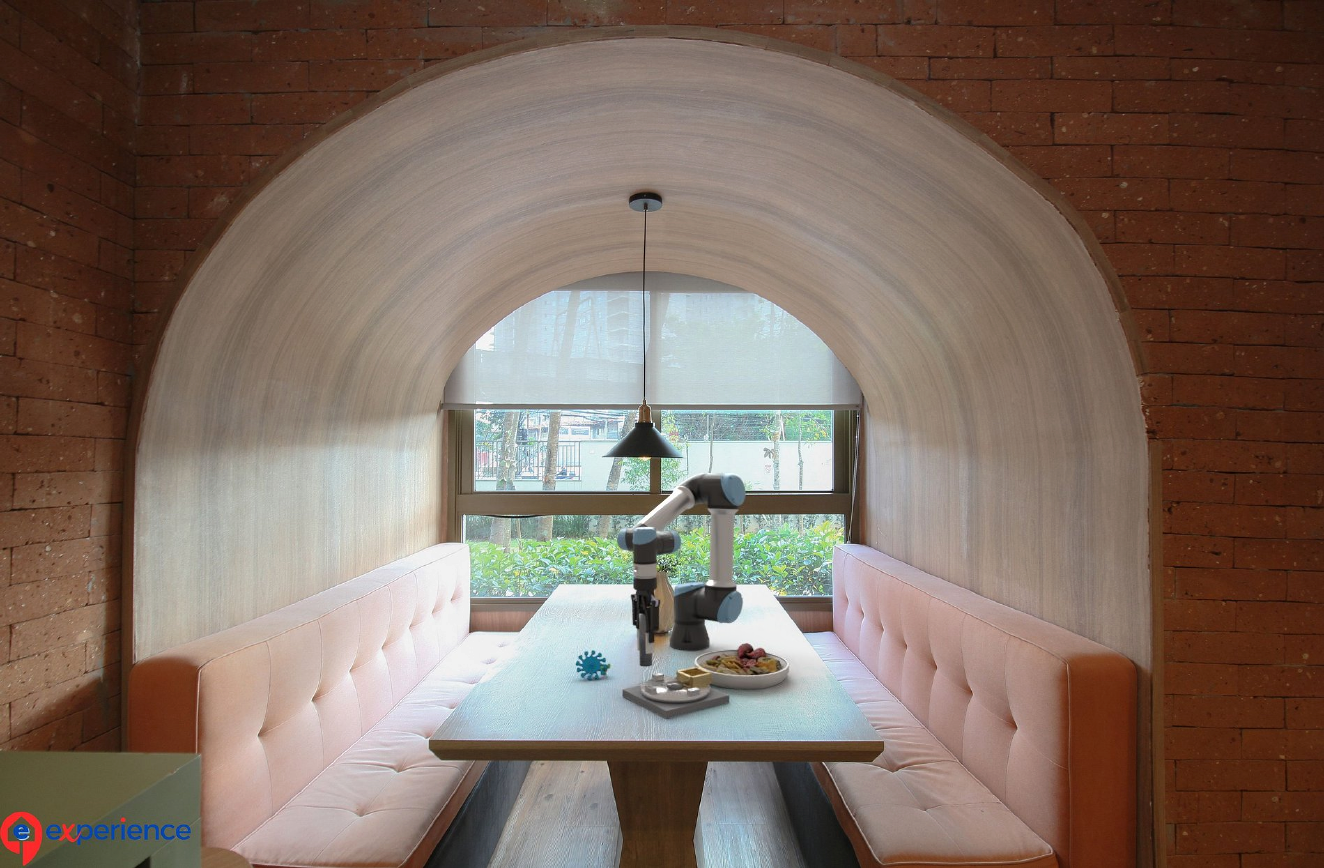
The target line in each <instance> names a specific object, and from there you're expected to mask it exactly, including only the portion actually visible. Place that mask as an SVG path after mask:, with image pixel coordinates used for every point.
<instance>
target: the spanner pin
mask: <svg viewBox="0 0 1324 868" xmlns="http://www.w3.org/2000/svg"><path fill="white" fill-rule="evenodd" d="M645 631H647V625H646V617H645V612H643V613H639V650H638V651H639V666H640V667H644V668H645V667H646V668H647V667H651V666H653V653H649V654H646V632H645Z"/></svg>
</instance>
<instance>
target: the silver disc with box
mask: <svg viewBox="0 0 1324 868" xmlns="http://www.w3.org/2000/svg"><path fill="white" fill-rule="evenodd" d="M651 677H652V679H651V678H650V679H648V680H646V681H643V683H642V684H640V685H641V694H642V695H643V696H644V697H646V698H648V699H650V700H654V701H658V702H665V703H686V702H693V701H698V700H701V699H703V698H705V697H707V696H708V695H709V694H710V685H713V684H712V673H711V672H709V671H707V670H704V669H702V668H699V667H698V668H697V667H695V666H692V667H688V668H684V669H679V670H676V675H675V676H674V675H673V676H671V675H670V676H665V674H664V673H663V672H656V673H653V674H652V675H651Z"/></svg>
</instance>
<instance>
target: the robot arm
mask: <svg viewBox="0 0 1324 868" xmlns="http://www.w3.org/2000/svg"><path fill="white" fill-rule="evenodd" d="M745 499H746V487H745V484H744V482H743V480H742V478H741V476H739V475H738V474H736V473H730V472H729V473H728V472H720V473H719V472H712V473H711V472H709V473H708V472H702V473H701V472H700V473H698V474H695V475H692V476H691V477H689V478H686V479H685V480H684V481H682V482H681V483H680V484H678V485H677V486H675V488H673V491H672V493H671V495H669V496H668V497H667V498H666V499H664V501H662V502H661V503H660V504H658V506H656V507H655V508H654V509H653V510H652V511H650V512H649V513H648V514H647V515H645V516H644V517H643V518H642V519H641V520H640V521H639V522H638V523H637V524H635V525H633V527H631V528H629V527H627V528H622V529H620V531H619V532H618V534H617V536H616V543H617V545H618V547H619V549H621V550H623V551H628V552H633V553H632V557H633V558H632V562H633V563H632V567H633V568H632V571H633V574H632V575H633V576H634V577H633V578H632V579H633V580H632V585H633V588H632V589H634V590H635V593H632V594H630V599H631V610H632V611H631V614H632V620H631V621H632V625H633V626H634V627H635V628H636V638H637V640H636V641H637V651H639V613H643V612H645V617H646V625H647V631H645V632H646V654H649V653H652V654H653V653H655V640H656V639H655V633H656V632H658V631H659V630H660V606H661V599H657V598H656V595H655V590H657V588H658V578H657V576H658V561H657V559H658V557H657V556H662V555H668V554H669V555H671V554H672V553H676V552H677V551H679V549H680V548H681V547H682V546H681V545H682V538H681V535H680V534H679V533H678V532H677V531H676V530H673V529H671V530H668V529H667V530H666V529H665V528H667V527H668V525H670V524H671V523H672V522H673V521H674V520H676V519H677V518H678V517H680V515H681V514H682V513H684V511H686V510H690V509H692V508H693V507H694V506H696V505H703V504H704V505H706V507H707V508H706V510H708V512H709V513H710V533H709V535H710V536H709V537H710V538H709V539H710V542H709V569H708V570H709V571H708V573H709V575H708V576H709V577H708V579H707V581H706V582H702V581H696V582H693V581H692V582H686V583H680V584H677V585H675V587H674V589H673V627H672V630H671V634H670V637H669V647H671V648H673V649H677V650H683V651H699V650H705V649H708V648H709V647H710V645H711V644H710V642H711V641H710V640H711V639H710V637H709V633H708V630H707V627H706V622H705V621H709V622H716V623H719V624H732V623H735V621H736V620H737V619H738V618H739V617H740V614H741V612H742V610H743V604H744V600H743V599H744V598H743V596H742V593H741V592H739V591H738V590H737V584H736V583H735V581H734V579H733V577H734V572H733V571H734V543H735V542H734V541H735V539H734V538H735V537H734V536H735V516H736V513H737V512H739V508H740V506H741V505H743V504H744V501H745ZM664 529H665V530H664Z"/></svg>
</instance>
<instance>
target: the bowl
mask: <svg viewBox="0 0 1324 868" xmlns="http://www.w3.org/2000/svg"><path fill="white" fill-rule="evenodd" d="M694 667H697V668H698V667H699V668H702V669H704V670H707V671H709V672H711V673H712V684H711V685H713V686H717V687H720V688H726V689H731V690H732V689H733V690H759V689H765V688H771V687H773V686H774V687H775V686H776V685H778V684H780V683H781V682H783V681H784V680H785V679H786V678H787V676H788V674H789V672H790V663H789V661H788V660H787V659H786V658H784V657H782V656H780V655H777V654H774V653H772V652H771V653H770V652H767V651H766V650H765V648H763V647H757V648H755V649H754V647H753V646H752V644H750V643H748V642H745V643H742V644H740V645H739V646H738V648H737V649H721V650H713V651H709V652H705V653H702V654H700V655H698V656H697V657H696V658H695V659H694Z"/></svg>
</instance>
